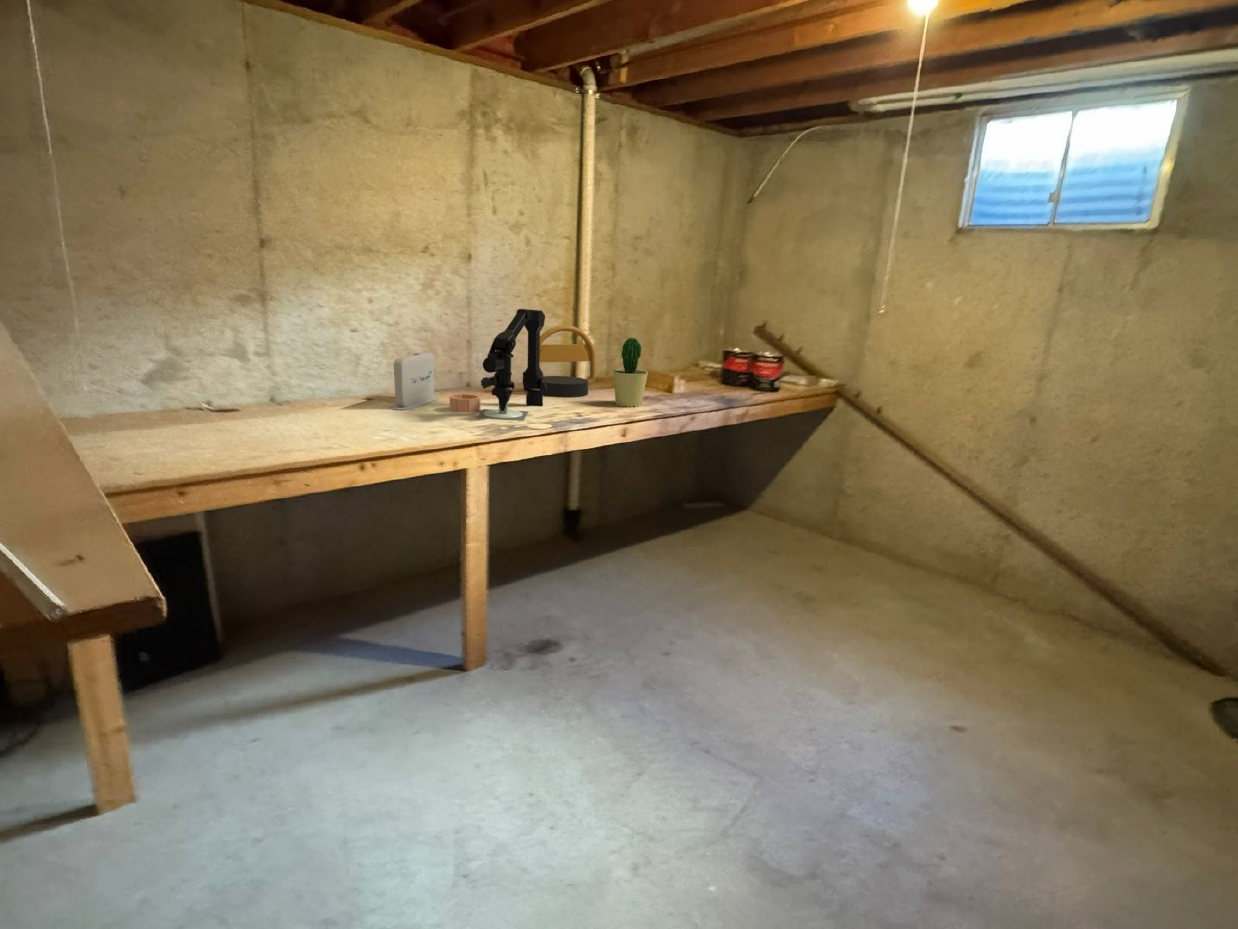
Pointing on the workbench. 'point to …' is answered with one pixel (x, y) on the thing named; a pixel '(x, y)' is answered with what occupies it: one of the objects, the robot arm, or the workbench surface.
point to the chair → (567, 353)
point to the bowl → (465, 403)
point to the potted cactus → (629, 376)
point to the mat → (481, 416)
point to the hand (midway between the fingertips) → (503, 410)
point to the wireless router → (414, 381)
